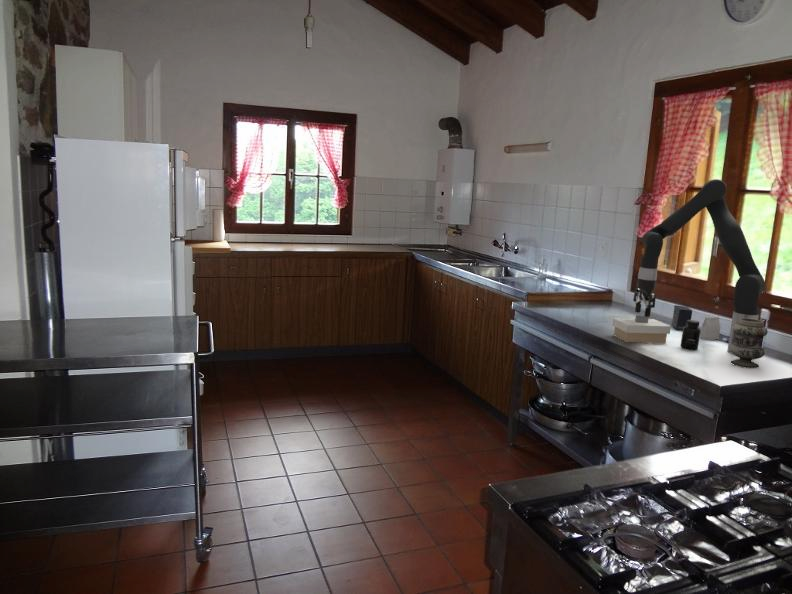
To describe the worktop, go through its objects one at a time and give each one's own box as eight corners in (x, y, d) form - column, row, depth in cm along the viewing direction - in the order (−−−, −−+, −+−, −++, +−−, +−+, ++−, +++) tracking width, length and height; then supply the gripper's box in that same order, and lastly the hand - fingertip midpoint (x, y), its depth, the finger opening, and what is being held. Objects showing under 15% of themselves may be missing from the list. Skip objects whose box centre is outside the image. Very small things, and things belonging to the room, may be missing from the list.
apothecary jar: (750, 361, 251) (757, 317, 247) (769, 370, 239) (776, 324, 236) (720, 359, 250) (727, 315, 247) (738, 368, 238) (745, 322, 235)
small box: (690, 331, 300) (693, 310, 298) (675, 330, 301) (678, 308, 299) (684, 326, 310) (687, 306, 308) (670, 325, 311) (673, 304, 309)
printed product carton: (718, 340, 285) (721, 318, 283) (705, 339, 284) (708, 318, 282) (712, 338, 288) (716, 316, 287) (700, 337, 287) (703, 316, 285)
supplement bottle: (687, 350, 262) (691, 322, 259) (676, 346, 268) (680, 319, 266) (701, 350, 263) (705, 322, 261) (690, 346, 270) (694, 319, 268)
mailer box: (665, 343, 273) (667, 327, 272) (626, 342, 270) (628, 326, 269) (651, 336, 284) (653, 321, 283) (613, 335, 282) (615, 320, 281)
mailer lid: (669, 333, 271) (671, 319, 270) (627, 332, 269) (628, 318, 268) (653, 326, 285) (655, 312, 283) (612, 325, 282) (614, 311, 281)
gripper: (663, 281, 266) (658, 318, 269) (647, 275, 280) (642, 311, 283) (647, 280, 265) (642, 317, 268) (631, 275, 279) (626, 310, 282)
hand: (642, 314), depth 276 cm, fingers open, 8 cm apart
